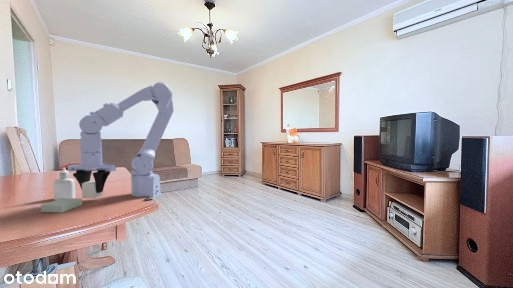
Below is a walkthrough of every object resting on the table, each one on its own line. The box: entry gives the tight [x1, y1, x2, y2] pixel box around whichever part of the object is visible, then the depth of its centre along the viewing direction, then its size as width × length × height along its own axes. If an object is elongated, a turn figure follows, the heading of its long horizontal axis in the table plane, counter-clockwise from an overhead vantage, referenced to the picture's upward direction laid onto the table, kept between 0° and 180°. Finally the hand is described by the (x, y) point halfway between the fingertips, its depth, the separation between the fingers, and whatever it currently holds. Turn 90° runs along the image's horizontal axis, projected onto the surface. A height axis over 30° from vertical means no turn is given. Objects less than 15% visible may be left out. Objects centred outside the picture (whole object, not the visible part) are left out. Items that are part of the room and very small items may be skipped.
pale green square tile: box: [36, 203, 86, 214], centre depth 65 cm, size 8×8×2 cm
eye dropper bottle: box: [53, 167, 76, 201], centre depth 75 cm, size 4×6×12 cm
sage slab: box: [40, 198, 83, 212], centre depth 65 cm, size 6×6×2 cm
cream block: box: [81, 180, 104, 199], centre depth 72 cm, size 4×4×5 cm
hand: (92, 192), depth 72 cm, fingers closed on cream block, 4 cm apart
